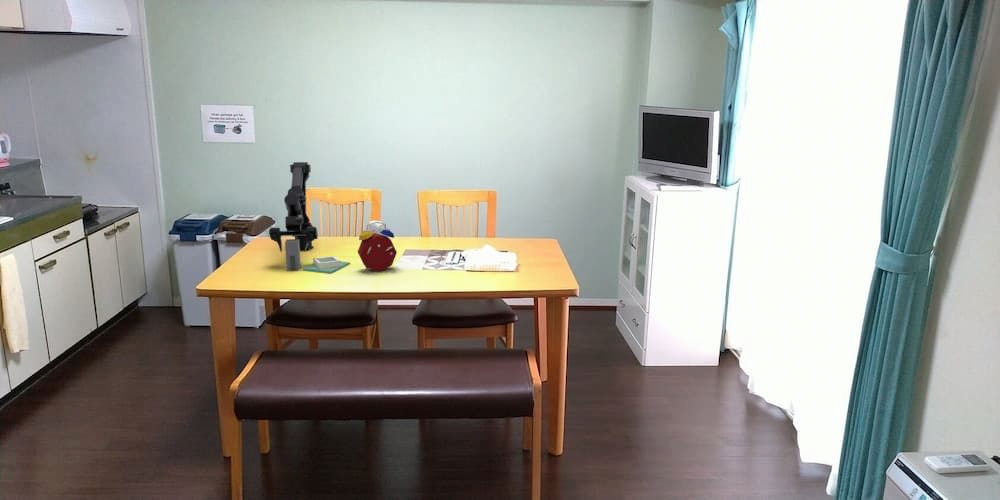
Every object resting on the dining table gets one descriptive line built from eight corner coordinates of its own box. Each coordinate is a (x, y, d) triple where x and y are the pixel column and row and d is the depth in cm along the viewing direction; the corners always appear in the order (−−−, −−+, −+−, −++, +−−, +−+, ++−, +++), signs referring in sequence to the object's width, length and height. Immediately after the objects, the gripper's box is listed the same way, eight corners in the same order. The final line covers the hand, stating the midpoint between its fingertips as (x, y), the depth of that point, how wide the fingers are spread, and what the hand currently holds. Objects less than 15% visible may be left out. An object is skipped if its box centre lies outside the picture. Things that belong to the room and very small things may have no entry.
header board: (302, 270, 292) (302, 262, 291) (322, 261, 306) (322, 253, 305) (331, 273, 288) (330, 265, 288) (350, 264, 302) (349, 256, 301)
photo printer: (368, 245, 333) (367, 219, 329) (376, 244, 335) (375, 218, 332) (379, 250, 325) (378, 223, 322) (387, 248, 328) (386, 222, 324)
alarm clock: (393, 266, 300) (392, 219, 295) (398, 271, 292) (397, 223, 287) (358, 269, 295) (356, 221, 290) (362, 275, 287) (360, 225, 282)
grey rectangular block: (288, 268, 296) (286, 239, 293) (300, 267, 296) (299, 239, 293) (286, 271, 291) (284, 242, 288) (299, 270, 292) (297, 241, 289)
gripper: (268, 208, 292) (265, 241, 284) (315, 207, 294) (314, 240, 286) (272, 223, 301) (270, 255, 293) (318, 222, 304) (317, 254, 296)
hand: (292, 251), depth 292 cm, fingers open, 9 cm apart
